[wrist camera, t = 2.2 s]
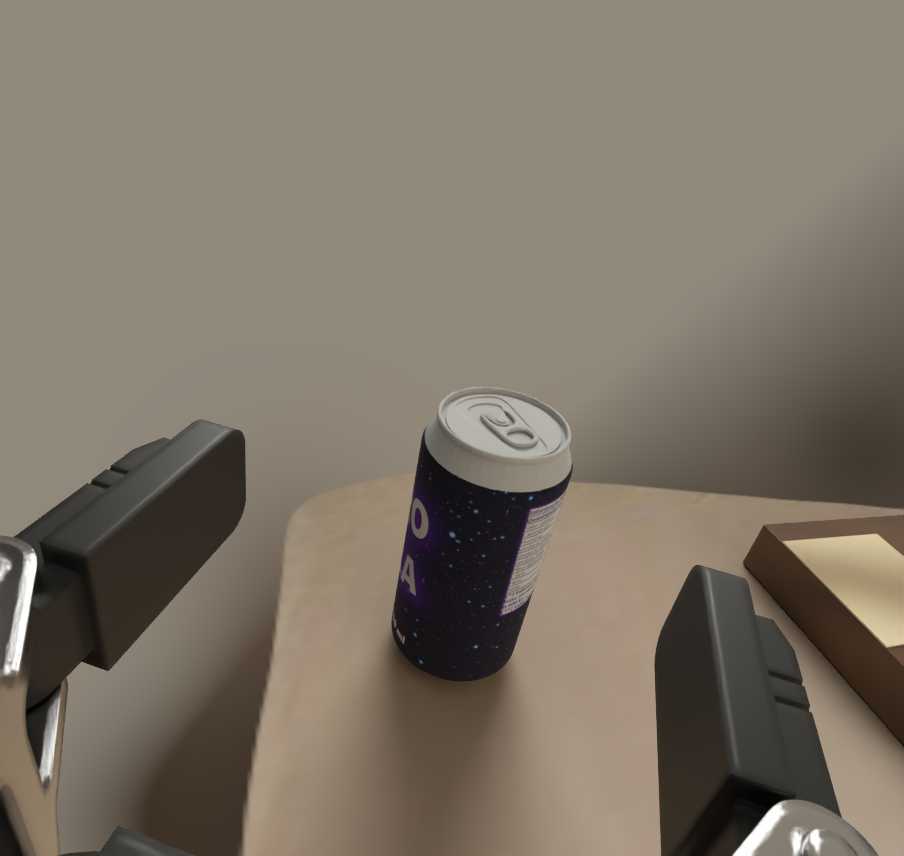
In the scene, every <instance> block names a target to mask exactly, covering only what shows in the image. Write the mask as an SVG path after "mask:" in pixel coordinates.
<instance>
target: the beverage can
mask: <svg viewBox="0 0 904 856" xmlns="http://www.w3.org/2000/svg"><path fill="white" fill-rule="evenodd" d="M570 441H571V432H570V428H569V426H568V424H567V422H566V421H565V420H564V418H563V417H562V416H561V415H560V414H559V413H558V412H556V411H555V410H554V409H553V408H551V407H550V406H548V405H547V404H545V403H543V402H541V401H540V400H537V399H535V398H533V397H530V396H528V395H525V394H523V393H519V392H516V391H511V390H507V389H502V388H494V387H473V388H466V389H462V390H458V391H455V392H454V393H451V394H449V395H448V396H447V397H445V398H444V399H443V400H442V402H441V403H440V405H439V407H438V411H437V415H436V416H435V417H434V419H433V420H432V421H431V422H430V423H429V425H428V426H427V427H426V429H425V430H424V433H423V436H422V441H421V447H420V453H419V459H418V465H417V471H416V477H415V483H414V489H413V495H412V501H411V507H410V513H409V519H408V525H407V531H406V537H405V543H404V549H403V555H402V561H401V567H400V573H399V579H398V585H397V591H396V597H395V603H394V609H393V614H392V632H393V636H394V639H395V641H396V643H397V645H398V647H399V649H400V650H401V652H402V653H403V654H404V655H405V657H406V658H407V659H408V660H409V661H410V662H412V663H413V664H414V665H415V666H417V667H418V668H420V669H421V670H423V671H425V672H427V673H429V674H431V675H433V676H436V677H439V678H442V679H446V680H452V681H472V680H478V679H482V678H485V677H487V676H490V675H492V674H493V673H495V672H497V671H498V670H499V669H501V668H502V667H503V666H504V665H505V664H506V663H507V661H508V660H509V659H510V657H511V655H512V653H513V650H514V647H515V644H516V641H517V638H518V635H519V632H520V629H521V626H522V623H523V620H524V617H525V614H526V611H527V608H528V605H529V602H530V599H531V596H532V593H533V590H534V587H535V583H536V580H537V577H538V574H539V571H540V568H541V565H542V562H543V559H544V556H545V553H546V550H547V547H548V544H549V541H550V538H551V535H552V532H553V529H554V526H555V523H556V520H557V517H558V514H559V511H560V508H561V505H562V502H563V499H564V495H565V492H566V489H567V486H568V483H569V480H570V477H571V474H572V469H573V465H572V459H571V454H570V450H569V445H570Z"/></svg>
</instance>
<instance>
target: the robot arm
mask: <svg viewBox="0 0 904 856" xmlns="http://www.w3.org/2000/svg"><path fill="white" fill-rule="evenodd" d="M245 478H246V477H245V438H244V435H243V433H242V432H241V431H240V430H236V429H233V428H229V427H226V426H223V425H219V424H215V423H212V422H209V421H206V420H197V421H195V422H193V423H192V424H190V425H189V426H188V427H187V428H185V429H184V430H183V431H181V432H180V433H179V434H177V435H176V436H175V437H173V438H172V439H171V440H170V439H167V438H162V439H159V440H156V441H154V442H151V443H149V444H146V445H143V446H141V447H138V448H136V449H133V450H132V451H130V452H129V453H128V454H126V455H125V456H124V457H123V458H121V459H120V460H118V461H117V462H115V463H114V464H113V465H111V468H110V470H107V469H106V470H105V471H103V472H102V473H100V474H99V475H98V476H96V477H95V478H94V479H93V480H92V482H91V484H88V483H87V484H86V485H84V486H83V487H82V488H80V489H79V490H77V491H76V492H75V493H73V494H72V495H71V496H69V497H68V498H67V499H65V500H64V501H62V502H61V503H60V504H58V505H57V506H56V507H54V508H53V509H52V510H50V511H49V512H47V513H46V514H45V515H43V516H42V517H41V518H39V519H38V520H37V521H35V522H34V523H32V524H31V525H30V526H28V527H27V528H26V529H24V530H23V531H22V532H20V533H19V534H18V535H16V536H15V537H8V536H0V856H194V855H191V854H189V853H186V852H183V851H181V850H179V849H176V848H174V847H171V846H168V845H166V844H163V843H161V842H158V841H156V840H153V839H151V838H148V837H145V836H143V835H140V834H138V833H135V832H133V831H130V830H128V829H125V828H123V827H120V826H118V827H117V828H116V830H115V831H114V832H113V834H112V835H111V837H110V838H109V840H108V841H107V842H106V844H105V845H104V847H103V848H102V850H101V851H100V852H96V851H91V852H78V853H68V854H63V855H59V834H58V824H57V794H58V784H59V783H58V782H59V773H60V764H61V753H62V743H63V732H64V722H65V712H66V701H67V692H68V683H67V679H66V677H67V676H68V675H69V674H70V673H71V672H72V671H73V670H74V669H75V668H76V667H77V665H78V664H79V663H80V662H84V663H87V664H90V665H93V666H95V667H98V668H101V669H104V670H107V671H109V670H110V669H111V668H112V667H113V666H114V664H115V663H116V662H117V661H118V660H119V658H121V657H122V655H123V654H124V653H125V652H126V651H127V650H128V649H129V648H130V647H131V645H132V644H133V643H134V642H135V641H136V640H137V639H138V638H139V636H140V635H141V634H142V633H143V632H144V631H145V629H146V628H147V627H148V626H149V625H150V624H151V623H152V622H153V621H154V620H155V618H156V617H157V616H158V615H159V614H160V613H161V612H162V611H163V610H164V608H165V607H166V606H167V605H168V604H169V603H170V602H171V601H172V599H173V598H174V597H175V596H176V595H177V594H178V592H179V591H180V590H181V589H182V588H183V587H184V586H185V585H186V584H187V583H188V581H189V580H190V579H191V578H192V577H193V576H194V575H195V574H196V572H197V571H198V570H199V569H200V568H201V567H202V566H203V565H204V563H205V562H206V561H207V560H208V559H209V558H210V557H211V556H212V554H213V553H214V552H215V551H216V550H217V549H218V548H219V547H220V546H221V544H222V543H223V542H224V541H225V540H226V539H227V538H228V536H229V535H230V534H231V533H232V532H233V531H234V529H235V528H236V526H237V525H238V523H239V521H240V519H241V516H242V514H243V511H244V507H245V501H246V481H245V480H246V479H245ZM802 681H803V679H802V676H801V672H800V669H799V665H798V662H797V658H796V655H795V651H794V649H793V648H792V646H791V645H790V643H789V642H788V641H787V639H786V638H785V636H784V635H783V633H782V632H781V631H780V629H779V628H778V626H777V625H776V623H775V622H774V621H773V620H771V619H768V618H764V617H761V616H758V615H755V611H754V607H753V602H752V598H751V594H750V589H749V585H748V582H747V581H746V579H745V578H742V577H739V576H735V575H732V574H728V573H725V572H721V571H718V570H714V569H711V568H708V567H704V566H701V565H696V566H694V567H693V568H692V570H691V571H690V573H689V575H688V577H687V579H686V581H685V583H684V585H683V587H682V589H681V591H680V593H679V595H678V597H677V599H676V601H675V603H674V605H673V607H672V609H671V611H670V613H669V615H668V617H667V619H666V621H665V623H664V625H663V628H662V630H661V633H660V636H659V639H658V643H657V648H656V654H655V692H656V720H657V748H658V776H659V804H660V833H661V856H878V854H877V853H876V851H875V850H874V849H873V847H872V846H871V845H870V844H869V843H868V842H867V840H866V839H865V838H864V837H863V836H862V835H861V834H860V833H859V832H858V831H857V830H856V829H855V828H854V827H852V826H851V825H850V824H849V823H847V822H846V821H845V820H844V819H842V816H841V814H840V810H839V807H838V803H837V800H836V796H835V793H834V789H833V786H832V782H831V779H830V775H829V772H828V768H827V764H826V761H825V757H824V754H823V750H822V747H821V743H820V740H819V736H818V733H817V729H816V725H815V722H814V718H813V715H812V713H811V712H809V707H810V704H809V701H808V697H807V694H806V690H805V687H804V686H802Z"/></svg>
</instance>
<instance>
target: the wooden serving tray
mask: <svg viewBox="0 0 904 856" xmlns="http://www.w3.org/2000/svg"><path fill="white" fill-rule="evenodd" d="M743 563H744V564H745V566H746V567H747V568H748V569H749V570H750V571H751V572H752V574H753V575H754V576H755V577H756V578H757V579H758V580H759V581H760V583H761V584H762V585H763V586H764V587H765V588H766V589H767V591H768V592H769V593H770V594H771V595H772V596H773V597H774V598H775V600H776V601H777V602H778V603H779V604H780V605H781V606H782V608H783V609H784V610H785V611H786V612H787V613H788V614H789V615H790V617H791V618H792V619H793V620H794V621H795V622H796V623H797V625H798V626H799V627H800V628H801V629H802V630H803V631H804V633H805V634H806V635H807V636H808V637H809V638H810V639H811V640H812V642H813V643H814V644H815V645H816V646H817V647H818V648H819V650H820V651H821V652H822V653H823V654H824V655H825V656H826V657H827V659H828V660H829V661H830V662H831V663H832V664H833V665H834V667H835V668H836V669H837V670H838V671H839V672H840V673H841V674H842V676H843V677H844V678H845V679H846V680H847V681H848V682H849V684H850V685H851V686H852V687H853V688H854V689H855V690H856V691H857V693H858V694H859V695H860V696H861V697H862V698H863V699H864V701H865V702H866V703H867V704H868V705H869V706H870V707H871V708H872V710H873V711H874V712H875V713H876V714H877V715H878V716H879V718H880V719H881V720H882V721H883V722H884V723H885V724H886V725H887V727H888V728H889V729H890V730H891V731H892V732H893V733H894V735H895V736H896V737H897V738H898V739H899V740H900V741H901V742H902V744H903V745H904V515H898V516H884V517H869V518H855V519H841V520H826V521H812V522H797V523H783V524H769V525H764V526H763V528H762V529H761V531H760V533H759V535H758V536H757V538H756V540H755V542H754V544H753V545H752V547H751V549H750V551H749V552H748V554H747V556H746V558H745V560H744V561H743Z"/></svg>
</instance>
